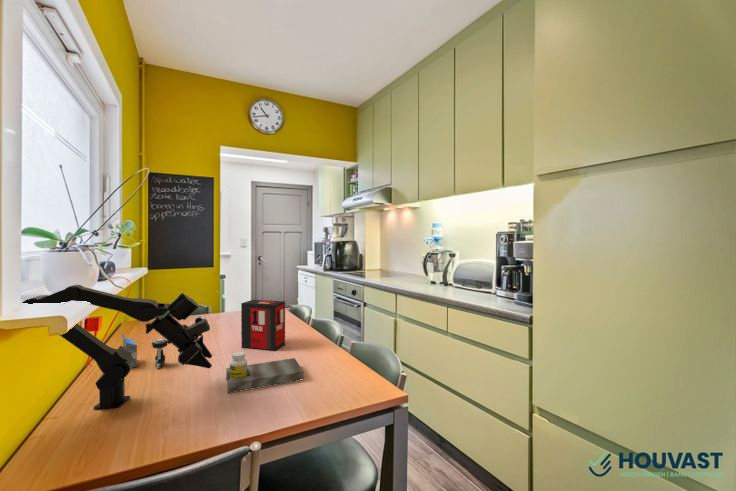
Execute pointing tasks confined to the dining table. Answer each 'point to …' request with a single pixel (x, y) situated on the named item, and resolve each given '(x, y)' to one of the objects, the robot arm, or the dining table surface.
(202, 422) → the dining table surface
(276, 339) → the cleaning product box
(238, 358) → the supplement bottle
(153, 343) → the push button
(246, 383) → the notched board
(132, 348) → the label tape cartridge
